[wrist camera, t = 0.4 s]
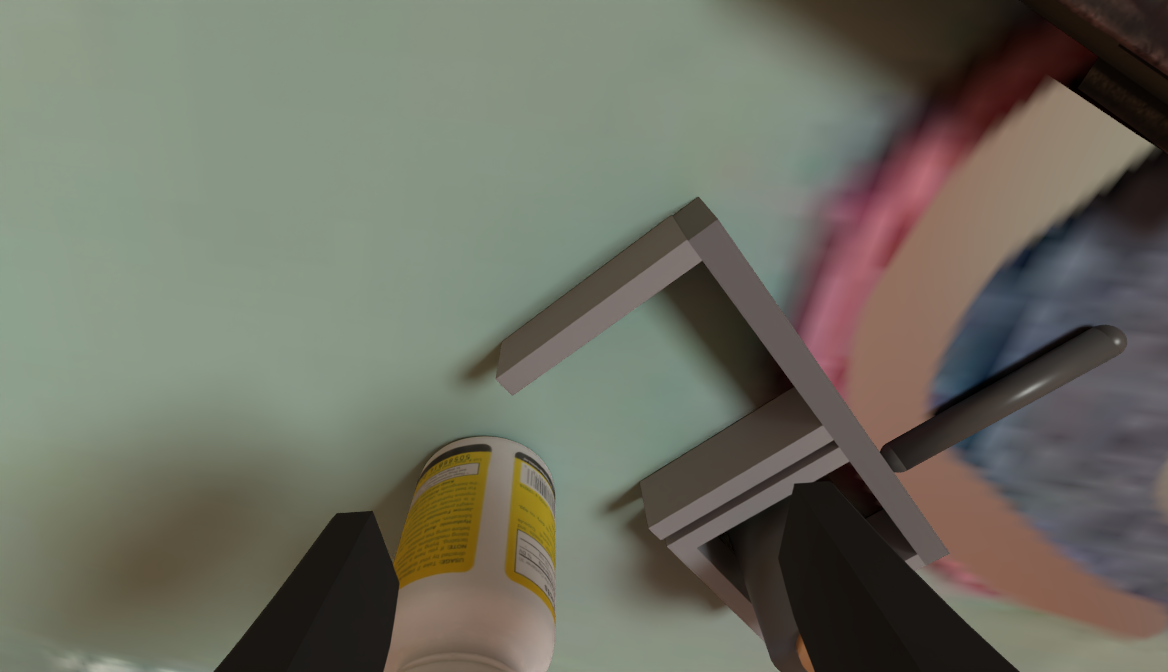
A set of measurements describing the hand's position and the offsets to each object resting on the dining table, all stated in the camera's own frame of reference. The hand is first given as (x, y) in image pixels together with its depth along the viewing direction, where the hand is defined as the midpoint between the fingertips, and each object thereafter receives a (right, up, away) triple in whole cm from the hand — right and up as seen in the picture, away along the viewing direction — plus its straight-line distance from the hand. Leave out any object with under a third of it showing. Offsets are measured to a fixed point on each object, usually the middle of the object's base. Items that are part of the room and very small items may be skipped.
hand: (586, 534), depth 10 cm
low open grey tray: (+9, +2, +11) cm, 15 cm away
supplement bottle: (-4, -2, +13) cm, 14 cm away
